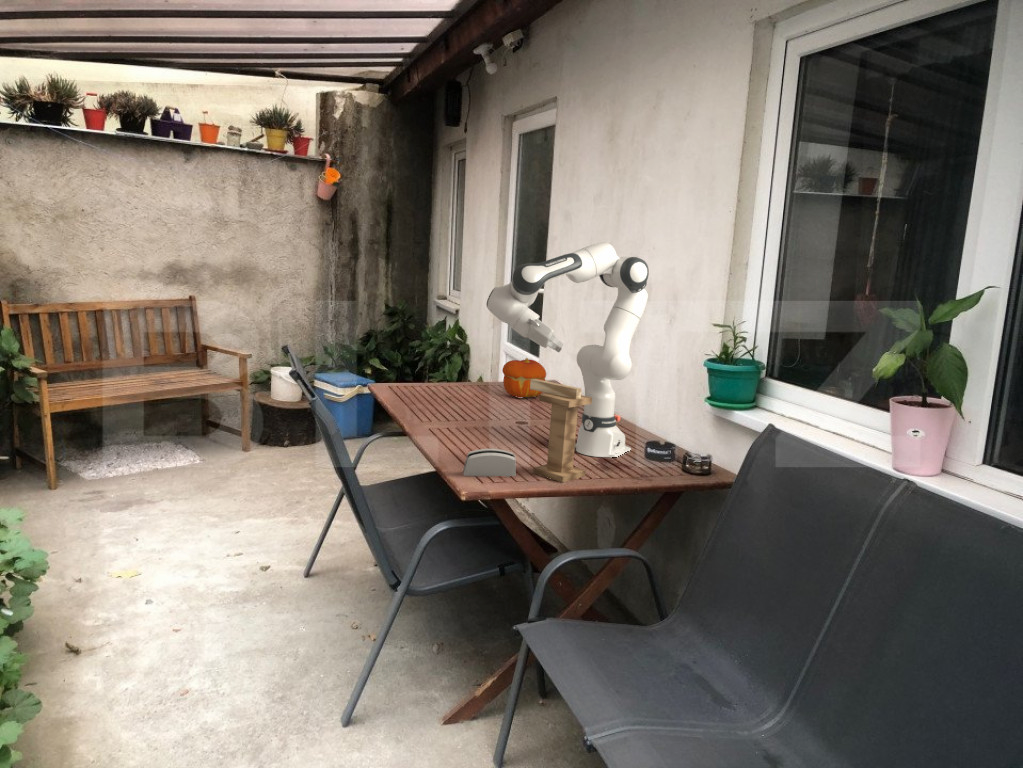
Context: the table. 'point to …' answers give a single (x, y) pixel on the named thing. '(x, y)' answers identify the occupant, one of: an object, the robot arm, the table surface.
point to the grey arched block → (490, 463)
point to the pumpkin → (522, 377)
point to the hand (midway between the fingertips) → (561, 348)
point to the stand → (562, 438)
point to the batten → (555, 389)
